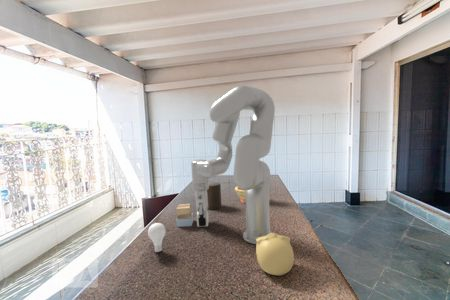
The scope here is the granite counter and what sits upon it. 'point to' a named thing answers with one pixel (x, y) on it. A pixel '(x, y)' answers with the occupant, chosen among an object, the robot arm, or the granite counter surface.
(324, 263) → the granite counter surface
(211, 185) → the pillar candle
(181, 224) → the tower base
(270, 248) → the pale yellow rounded piece
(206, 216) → the white block
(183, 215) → the tower mid
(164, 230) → the lightbulb
